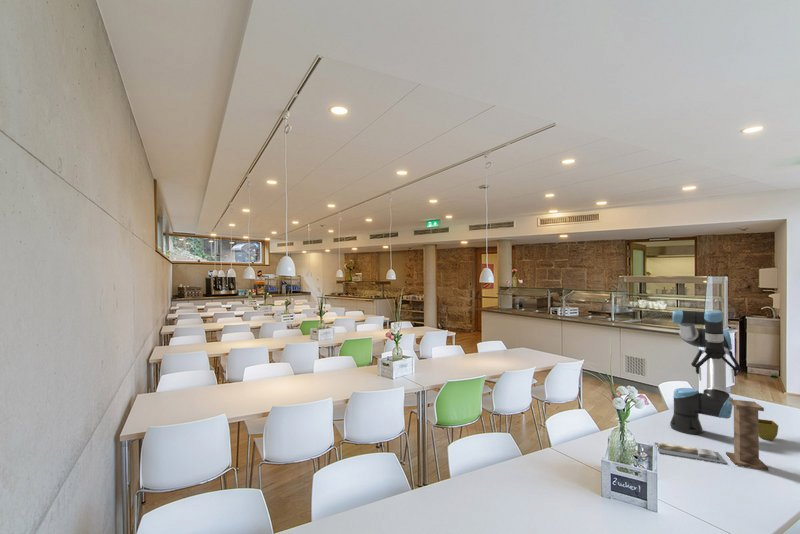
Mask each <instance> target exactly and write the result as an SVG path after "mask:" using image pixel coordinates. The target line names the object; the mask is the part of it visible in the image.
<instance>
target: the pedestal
mask: <svg viewBox="0 0 800 534" xmlns="http://www.w3.org/2000/svg"><path fill="white" fill-rule="evenodd" d="M729 403H731V404H732V405H733V406H732V407H733V452H730V451H729V452H728V451H725V456H726V455H727V456H728V457H729V458H730V459H729V458H728V457H727V456H726V457H727V458H728V459H729V460H730V462H731V463H732V464H735V465H738V466H737V467H741V466H744V467H743V468H747V467H750V468H749V469H754V468H755V469H754V470H761V471H767V472H769V467H768V466H767V464H765V463H764V462H763V461H762V459H760V446H759V445H760V441H759V440H760V439H759V438H760V437H759V426H758V419H759V412H764V411H765V407H763V406H762V405H760V404H759V403H757V402H755V401H749V400H741V399H734V398H733V399H729ZM735 465H734V466H735Z"/></svg>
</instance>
